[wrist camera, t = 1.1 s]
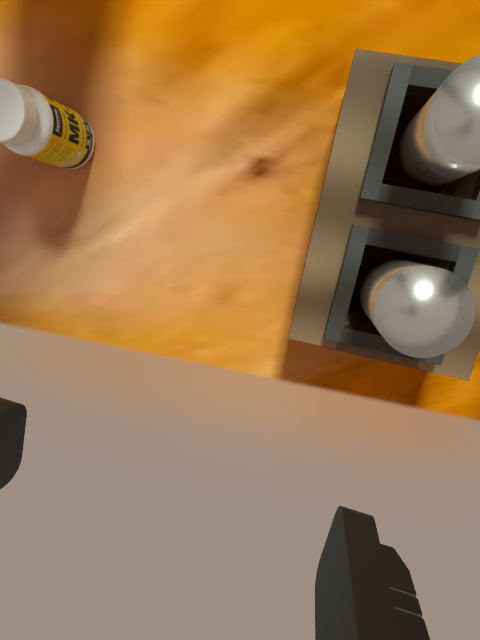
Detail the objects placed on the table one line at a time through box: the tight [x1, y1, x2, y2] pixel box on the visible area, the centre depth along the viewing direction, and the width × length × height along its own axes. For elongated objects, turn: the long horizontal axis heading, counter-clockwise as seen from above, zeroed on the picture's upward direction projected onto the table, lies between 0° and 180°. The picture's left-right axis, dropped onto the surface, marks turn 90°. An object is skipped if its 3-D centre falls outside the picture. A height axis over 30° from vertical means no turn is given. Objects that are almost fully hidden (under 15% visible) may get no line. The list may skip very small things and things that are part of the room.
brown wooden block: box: [288, 49, 480, 381], centre depth 27 cm, size 18×12×8 cm, turn 169°
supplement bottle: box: [0, 78, 95, 169], centre depth 30 cm, size 5×5×8 cm
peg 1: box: [399, 55, 480, 185], centre depth 20 cm, size 4×4×7 cm
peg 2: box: [360, 260, 475, 358], centre depth 22 cm, size 4×4×7 cm
